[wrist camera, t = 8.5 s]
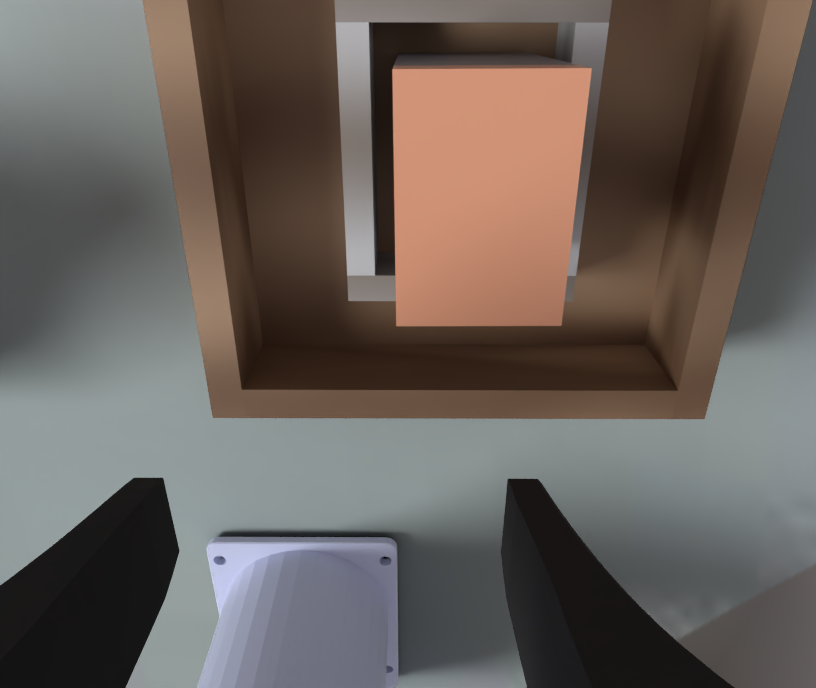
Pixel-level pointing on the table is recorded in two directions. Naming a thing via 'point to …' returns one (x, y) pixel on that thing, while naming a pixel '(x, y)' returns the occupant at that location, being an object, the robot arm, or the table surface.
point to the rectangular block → (485, 186)
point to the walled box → (375, 218)
